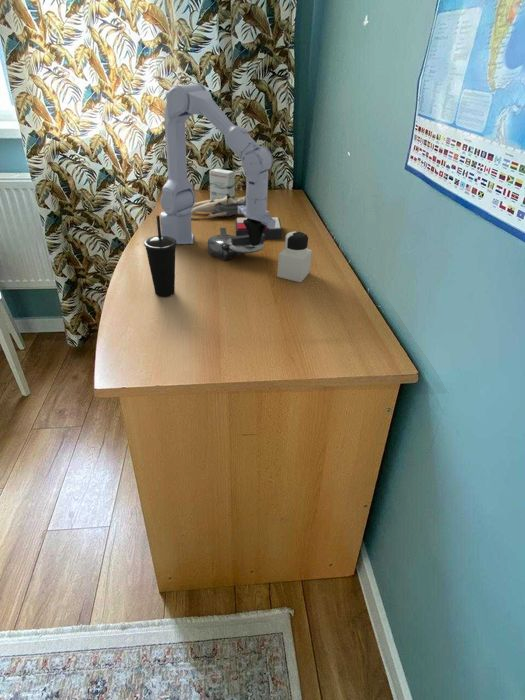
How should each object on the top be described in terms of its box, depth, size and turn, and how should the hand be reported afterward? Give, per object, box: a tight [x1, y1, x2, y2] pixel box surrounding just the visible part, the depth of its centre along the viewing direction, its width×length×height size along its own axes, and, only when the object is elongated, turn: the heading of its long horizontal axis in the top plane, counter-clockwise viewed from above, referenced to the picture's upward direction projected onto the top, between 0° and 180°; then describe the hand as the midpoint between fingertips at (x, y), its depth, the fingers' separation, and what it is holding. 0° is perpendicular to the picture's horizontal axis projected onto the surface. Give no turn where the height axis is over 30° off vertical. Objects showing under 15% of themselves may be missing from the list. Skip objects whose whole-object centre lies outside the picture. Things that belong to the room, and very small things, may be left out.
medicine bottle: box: [277, 231, 313, 283], centre depth 124 cm, size 7×7×12 cm
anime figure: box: [191, 194, 246, 219], centre depth 163 cm, size 10×7×30 cm
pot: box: [207, 227, 242, 262], centre depth 140 cm, size 10×18×4 cm, turn 7°
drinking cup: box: [143, 214, 178, 298], centre depth 110 cm, size 8×8×20 cm
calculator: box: [235, 216, 283, 240], centre depth 152 cm, size 11×4×15 cm
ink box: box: [208, 168, 236, 200], centre depth 174 cm, size 9×5×12 cm, turn 66°
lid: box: [221, 233, 266, 254], centre depth 133 cm, size 13×11×3 cm
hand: (254, 244), depth 130 cm, fingers closed
